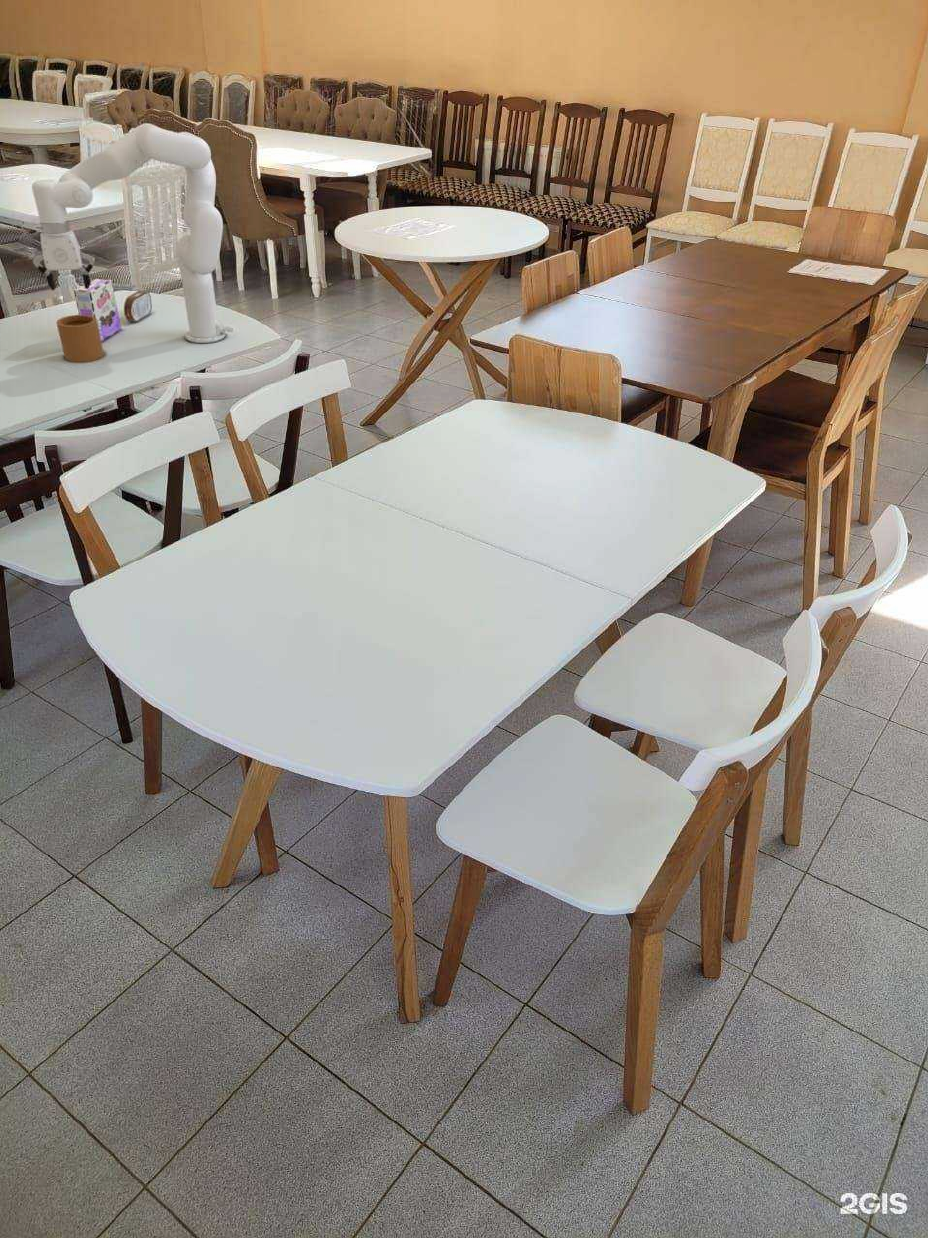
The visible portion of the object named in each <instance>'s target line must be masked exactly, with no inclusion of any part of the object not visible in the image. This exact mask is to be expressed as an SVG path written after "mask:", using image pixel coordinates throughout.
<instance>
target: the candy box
mask: <svg viewBox="0 0 928 1238" xmlns="http://www.w3.org/2000/svg"><path fill="white" fill-rule="evenodd" d="M90 282H91V285H89V288H88V289H86V288H85V285H84V284H83V285H81V286H80V287H77V288H75V289H73V293H74V298H75V304H76V306H77V307H76V308H77V312H78V315H90V316H93V317H96V319H97V324H98V328H99V333H100V338H101V342H104V341H105V340H107V339H108V338H110V337H112V336H114V335H116V333H118V332H120V331H121V330H122V326H121V321H120V317H119V311H118V306H117V301H116V295H115V291H114V286H113V281H112V279H103V278H94V280H92V281H90Z"/></svg>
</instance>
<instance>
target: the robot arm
mask: <svg viewBox="0 0 928 1238" xmlns="http://www.w3.org/2000/svg"><path fill="white" fill-rule="evenodd" d="M211 157H212V152H211V148H210V146H209V144H208V143H207V141H205V140H204V139H203V138H202V137H199V136H197V135H195V134H193V133H191V132H189V131H179V132H176V131H175V132H174V131H171V130H167V129H165V128H161V127H159V126H157V125H155V124H153V123H147V122H146V123H142V124H139V125H137V126H136V127H135V128H134V129H132V130H130V131H129V132H128V133H126V134H125V135H124V136H122V137H120V138H119V139H118V140H117V141H115V142H114V143H112V144H111V145H109V146H108V147H106V148H105V149H103V150H100V151H98V152H96V153H95V154H94V155H92V156H89V157H87V158H85V159H84V160H81V161H80V162H79V163H77V164H76V165H74V166H73V167H71V168H70V169H68V170H67V171H66V172H65V173H63V174H62V175H61V176H60V177H59V179H58V181H57V180H54V179H38V180H35V181H34V182H33V183H32V184H31V190H32V194H33V198H34V202H35V206H36V209H37V210H36V211H37V213H38V217H39V223H36V224H35V228H36V229H37V230H41V233H40V245H41V251H42V252H41V253H42V254H40V255H39V256H37V257H35V258H34V259H33V260H32V263H33V265H34V266H35V267H36V268H37V270H38V271H39V272H40V273H42V274H43V275H44V276H45V277H46V280H47V285H48V287H50V289H51V291H55V289H56V288H57V285H56V281H55V278H54V274H53V273H52V271H75V270H79V271H80V272H81V273H82V280H83V285H85V288H86V289H88V288H89V285H91V282H92V281H91V278H90V272H91V271H92V269H93V268H94V265H95V261H96V257H94V256H92V255H90V254H87V253H85V252H82V250H81V248H80V244H79V242H78V239H77V236H76V235H75V232H74V230H72V229H71V226H70V221H69V216H68V212H67V209H68V208H72V209H82V208H83V209H84V208H86V207H88V206H90V205H91V203H92V201H93V198H94V197H93V196H94V194H93V190H94V189H95V188H97V187H98V186H100V185H102V184H105V183H107V182H110V181H116V180H121V179H125V178H127V177H129V176H130V175H131V174H133V173H134V172H136V171H137V170H138V169H140V168H141V167H143V166H144V165H145V164H147V163H148V162H150V161H151V160H154V161H158V162H161V163H165V164H168V165H174V166H178V167H183V168H184V170H185V175H186V189H185V196H184V203H183V204H184V205H183V211H182V218H183V222H184V224H185V226H186V227H187V228H188V229H190V234H186V235H182V236H181V237H180V238H179V239H178V241H177V243H176V245H175V256H176V261H177V265H178V269H179V273H180V277H181V283H182V288H183V289H182V290H183V297H184V304H185V310H186V315H187V324H188V329H189V330H188V331H187V332H185V334H184V335H185V336H184V337H185V339H186V340H187V341H189V342H192V343H198V344H207V343H214V342H218V341H221V340H222V339H224V338H225V336H226V333H227V332H228V333H233V332H234V325H230V324H229V323H225V324H223V323H221V321H220V320H221V319H219V317H218V311H217V303H216V295H215V288H214V287H215V286H214V280H213V274H212V273H213V272H214V271H215V270H216V268H217V266H218V263H219V259H220V253H221V245H222V240H223V232H224V221H223V217H222V215H221V213H220V211H219V210H218V209H217V207H215V200H216V199H215V198H216V188H217V175H216V169H215V166H214V163H213V160H212V158H211ZM84 260H86V261H88V264H87V266H86V264H84ZM42 261H43V262H44V265H45V266H43V265H42V264H41V262H42Z"/></svg>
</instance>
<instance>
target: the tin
mask: <svg viewBox="0 0 928 1238" xmlns="http://www.w3.org/2000/svg"><path fill="white" fill-rule="evenodd" d="M152 304H153V303H152V296H151V294H150V292H148V291H144V290H138V291H135V292H134V293H132V294H130V295H128V296H127V297H126V299H125V301H124V305H123V313H124V317H125V319H126V320H127V321H128V322H134V323H138V322H139V321H141V320H143V319H144V318H146V317H148V316H149V315H151V312H152V307H153V305H152Z"/></svg>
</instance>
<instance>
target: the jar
mask: <svg viewBox="0 0 928 1238" xmlns="http://www.w3.org/2000/svg"><path fill="white" fill-rule="evenodd" d="M56 326H57V330H58V331H57V332H58V335H59V339H60V343H61V348H62V351H63V355H64V359H65V360H66V361H68V362H73V363H89V362H94V361H97V360H99V359H101V358H103V356H104V354H105V353H104V348H103V343H102V342H103V341H102V342H101V338H100V333H99V328H98V324H97V319H96V317H93V316H90V315H79V314H72V315H68V316H64V317H61V318H59V319H57V320H56Z"/></svg>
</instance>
